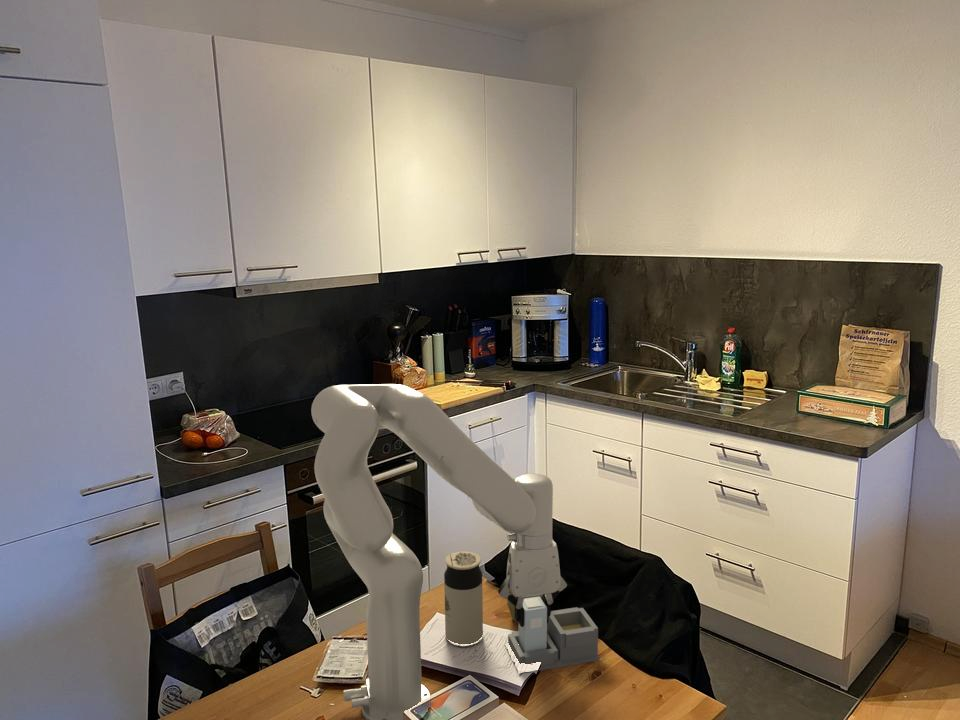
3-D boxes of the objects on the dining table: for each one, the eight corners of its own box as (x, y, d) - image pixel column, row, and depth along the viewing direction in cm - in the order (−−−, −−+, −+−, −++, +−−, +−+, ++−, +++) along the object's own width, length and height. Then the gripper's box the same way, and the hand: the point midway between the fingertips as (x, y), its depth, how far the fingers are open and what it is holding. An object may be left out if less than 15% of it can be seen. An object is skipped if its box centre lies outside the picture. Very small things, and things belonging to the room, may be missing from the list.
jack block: (518, 674, 139) (518, 644, 138) (504, 645, 149) (504, 616, 147) (599, 660, 143) (600, 631, 142) (580, 633, 153) (580, 605, 152)
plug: (525, 656, 142) (525, 610, 140) (518, 643, 146) (518, 598, 144) (546, 653, 143) (547, 607, 141) (539, 640, 147) (539, 595, 145)
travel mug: (483, 626, 155) (482, 550, 152) (482, 648, 148) (481, 568, 144) (446, 626, 156) (445, 550, 152) (444, 648, 148) (442, 568, 144)
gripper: (497, 550, 134) (497, 638, 138) (580, 540, 138) (578, 625, 142) (486, 533, 142) (487, 617, 145) (566, 524, 146) (565, 606, 149)
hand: (532, 620), depth 143 cm, fingers closed on plug, 4 cm apart
